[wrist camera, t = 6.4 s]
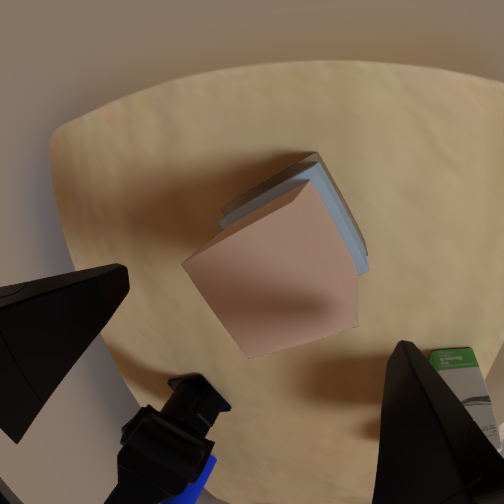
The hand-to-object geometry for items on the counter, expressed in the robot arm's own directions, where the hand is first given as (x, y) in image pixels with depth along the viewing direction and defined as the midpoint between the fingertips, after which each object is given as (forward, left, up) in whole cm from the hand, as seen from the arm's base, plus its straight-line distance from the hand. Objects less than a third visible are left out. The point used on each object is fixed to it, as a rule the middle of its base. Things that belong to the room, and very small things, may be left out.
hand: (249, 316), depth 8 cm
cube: (0, 0, -7) cm, 7 cm away
